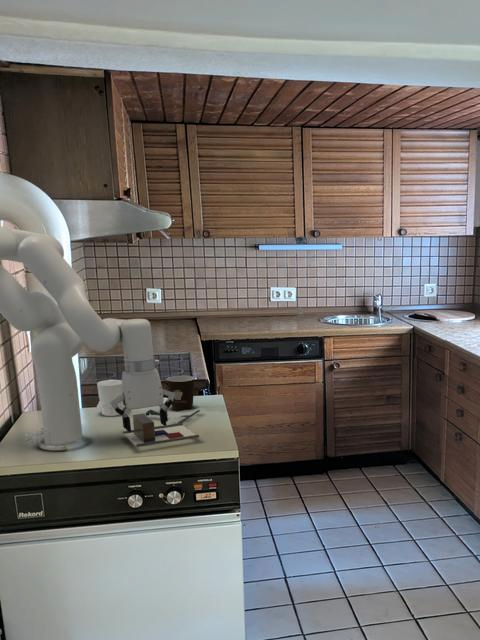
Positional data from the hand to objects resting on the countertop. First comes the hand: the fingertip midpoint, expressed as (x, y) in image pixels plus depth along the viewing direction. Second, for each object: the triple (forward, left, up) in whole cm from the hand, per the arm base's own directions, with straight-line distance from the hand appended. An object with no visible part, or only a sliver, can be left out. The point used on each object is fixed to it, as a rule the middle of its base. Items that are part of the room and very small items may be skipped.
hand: (146, 427), depth 191 cm
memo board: (+4, 0, -4) cm, 6 cm away
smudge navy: (+4, +2, -3) cm, 5 cm away
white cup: (-1, +35, -5) cm, 36 cm away
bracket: (+12, +19, -5) cm, 23 cm away
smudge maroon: (+7, -2, -3) cm, 8 cm away
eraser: (-1, 0, -3) cm, 3 cm away
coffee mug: (+19, +31, -5) cm, 37 cm away
